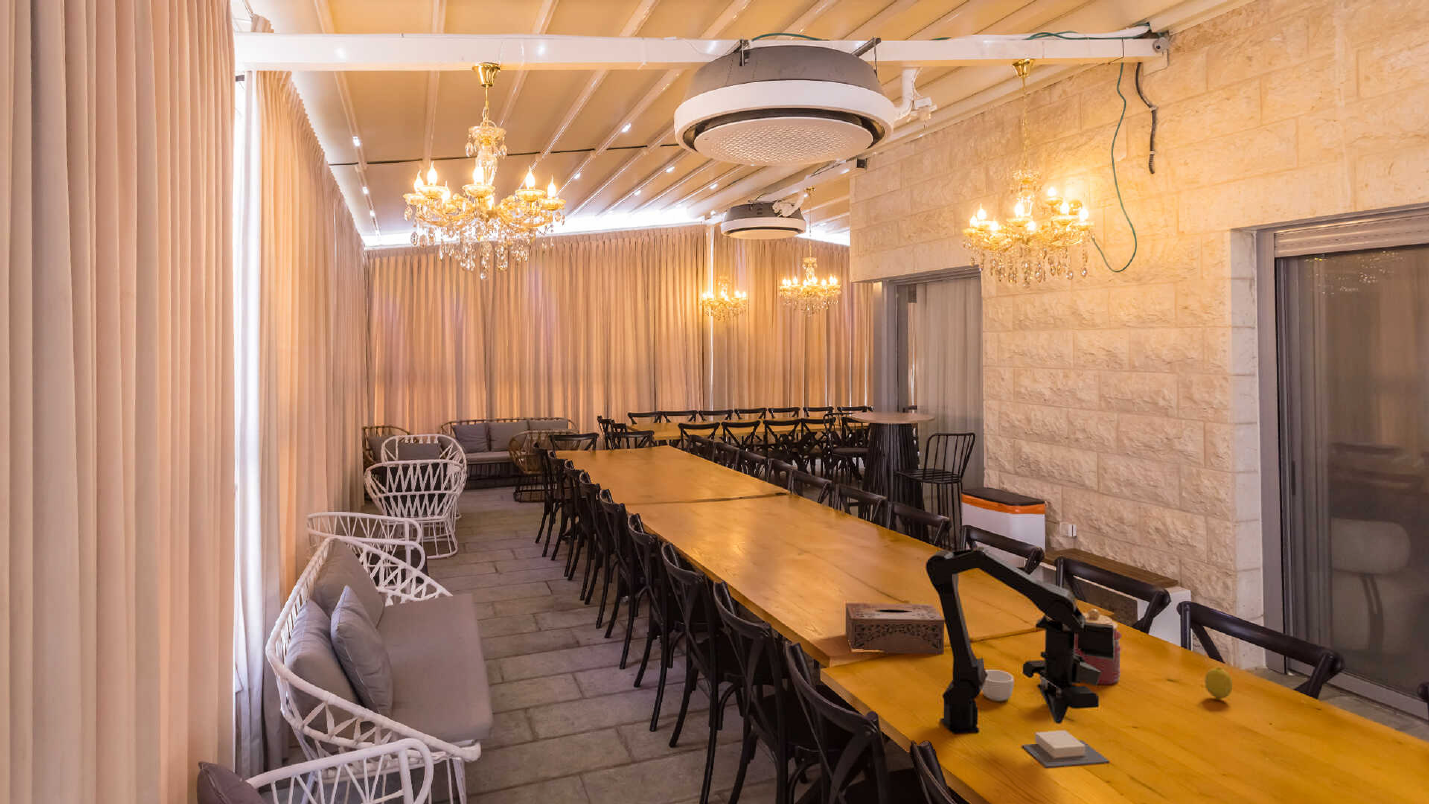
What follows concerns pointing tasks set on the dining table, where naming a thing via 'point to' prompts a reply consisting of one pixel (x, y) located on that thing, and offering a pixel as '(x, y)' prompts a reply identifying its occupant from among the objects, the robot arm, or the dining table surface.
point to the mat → (1049, 761)
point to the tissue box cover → (895, 628)
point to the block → (1060, 744)
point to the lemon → (1218, 683)
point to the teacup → (998, 685)
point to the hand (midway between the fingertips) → (1058, 722)
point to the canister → (1106, 666)
